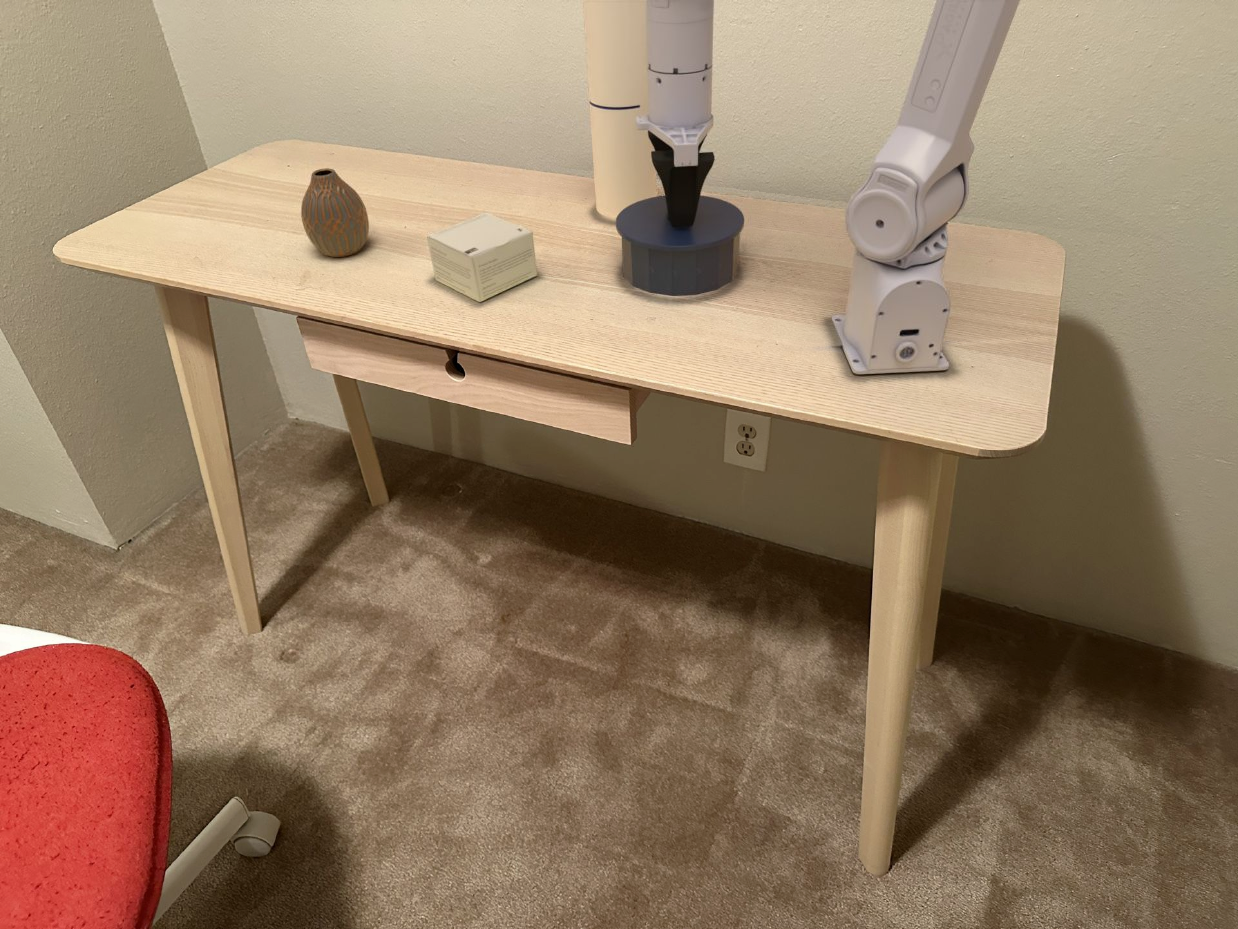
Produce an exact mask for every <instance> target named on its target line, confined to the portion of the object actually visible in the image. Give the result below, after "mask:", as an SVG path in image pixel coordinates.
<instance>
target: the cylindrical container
mask: <svg viewBox="0 0 1238 929" xmlns="http://www.w3.org/2000/svg"><path fill="white" fill-rule="evenodd" d="M582 9H583V24H584V25H583V26H584V40H585V41H584V42H585V54H586V55H585V56H586V57H585V58H586V69H587V85H588V99H589V117H590V118H589V119H590V131H591V132H590V133H591V149H592V166H593V179H594V193H595V194H594V195H595V208H596V212H598V213H599V214H601V215H602V216H604V217H608V218H613V219H616V218H617V216H618V214H619V213H620V212H621V211H622V210H623V209H625V208H626V207H628V206H629V205H631V204H633V203H636V202H638V201H641V200H644V199H648V198H652V197H658V194H657V192H658V191H657V190H658V189H657V171H656V170H655V167H654V165H653V163H652V158H651V151H655V149H654V147H653V145H652V143H651V141H650V139H649V137H648V130H638V129H637V128H636V117H638V116H647V115H649V111H648V66H647V22H646V0H582Z"/></svg>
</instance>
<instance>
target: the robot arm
mask: <svg viewBox="0 0 1238 929" xmlns="http://www.w3.org/2000/svg"><path fill="white" fill-rule="evenodd" d="M1020 2H1021V0H936V1H935V4H934V7H933V11H932V13H931V17H930V19H929V23H928V26H927V29H926V32H925V35H924V39H923V41H922V45H921V47H920V51H919V55H918V57H917V61H916V63H915V66H914V70H913V72H912V75H911V80H910V83H909V86H908V89H907V92H906V94H905V98H904V101H903V104H902V108H901V110H900V114H899V117H898V120H897V123H896V125H895V127H894V129H893V131H892V132H891V134H890V135H889V137H888V138H887V140H886V141H885V142H884V144H883V145H882V147H881V149H880V150H879V152H878V153H877V154H876V155H875V157H874V159H873V162H872V163H871V166H870V170H869V173H868V176H867V178H866V179H865V181H864V183H862V185H861V186H860V187H859V188H858V189H857V190H856V191H855V192H854V193H853V194H852V196H851V197H850V199H849V200H848V203H847V205H846V209H845V214H844V224H845V230H846V233H847V236H848V237H849V240H850V242H851V243H852V244H853V247H854V253H853V260H852V267H851V273H850V282H849V289H848V296H847V303H846V309H845V314H844V313H843V314H833V315H831V317H830V319H831V320H832V323H833V325H834V327H835V330H836V332H837V335H838V337H839V340H840V342H841V344H842V345H841V348H842V351H843V352H844V355H845V357H846V359H847V362H848V364H849V366H850V369H851V372H852V373H854V374H855V375H873V374H875V375H877V374H895V373H896V374H897V373H914V372H915V373H916V372H936V371H939V372H940V371H946V370H948V369H949V367H950V363H949V361H948V360H947V358H946V356H945V355H944V352H942V348H943V343H944V340H945V336H946V331H947V326H948V322H949V317H950V313H951V307H952V304H951V296H950V294H949V291H948V289H947V287H946V284H945V281H944V275H943V274H944V271H943V270H944V267H945V266H944V265H945V261H946V256H947V250H948V246H949V236H948V225H949V222H950V221H952V220H954V218H956V217H957V216H958V215H959V214H960V213H961V212H962V210H963V209H964V207H965V206H966V204H967V202H968V199H969V195H970V194H969V193H970V178H969V167H970V162H971V159H972V156H973V154H974V151H975V144H974V142H973V140H972V137H971V135H970V132H971V130H972V127H973V124H974V122H975V119H976V117H977V114H978V111H979V109H980V106H981V103H982V101H983V99H984V95H985V94H986V91H987V88H988V85H989V83H990V80H991V77H992V75H993V72H994V70H995V67H996V64H997V62H998V59H999V57H1000V54H1001V52H1002V49H1003V46H1004V44H1005V41H1006V39H1007V36H1008V33H1009V31H1010V28H1011V25H1012V23H1013V20H1014V18H1015V15H1016V12H1017V10H1018V7H1019V4H1020ZM714 14H715V0H646V22H647V66H648V111H649V115H647V116H638V117H636V128H637V129H638V130H648V137H649V139H650V141H651V143H652V145H653V147H654V149H655V151H651V158H652V163H653V165H654V167H655V170H656V174H657V175H658V177H659V179H660V183H661V185H662V188H663V192H664V195H665V198H666V204H667V210H668V216H669V220H670V223H671V226H672V227H687V226H693V223H694V220H695V217H696V213H697V208H698V203H699V198H700V195H701V193H702V190H703V187H704V185H705V181H706V179H707V177H708V175H709V173H710V171H711V169H712V168H713V166H714V163H715V160H716V159H715V152H714V151H707V152H705V151H703V152H701V150H702V147H703V144H704V142H705V140H706V137H707V136H708V133H709V132H710V131H711V130H712V129H713V127H714V114H712V109H713V108H712V104H713V102H712V100H713V58H714V57H713V53H714V51H713V50H714ZM837 320H839V321H837Z"/></svg>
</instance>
